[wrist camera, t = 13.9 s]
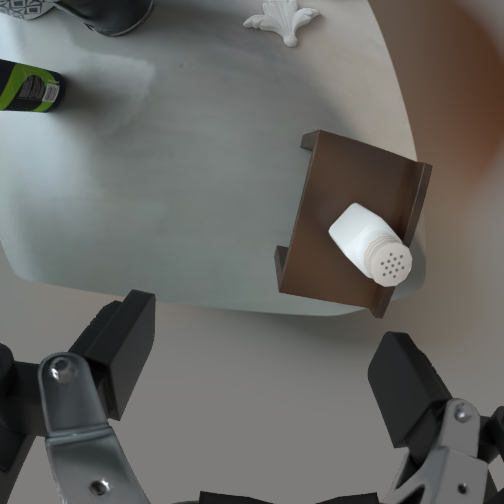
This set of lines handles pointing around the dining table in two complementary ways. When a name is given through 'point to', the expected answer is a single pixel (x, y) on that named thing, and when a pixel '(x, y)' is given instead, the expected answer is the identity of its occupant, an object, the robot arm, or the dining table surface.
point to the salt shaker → (372, 245)
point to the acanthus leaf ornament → (282, 19)
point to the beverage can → (29, 88)
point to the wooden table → (334, 205)
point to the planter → (24, 8)
